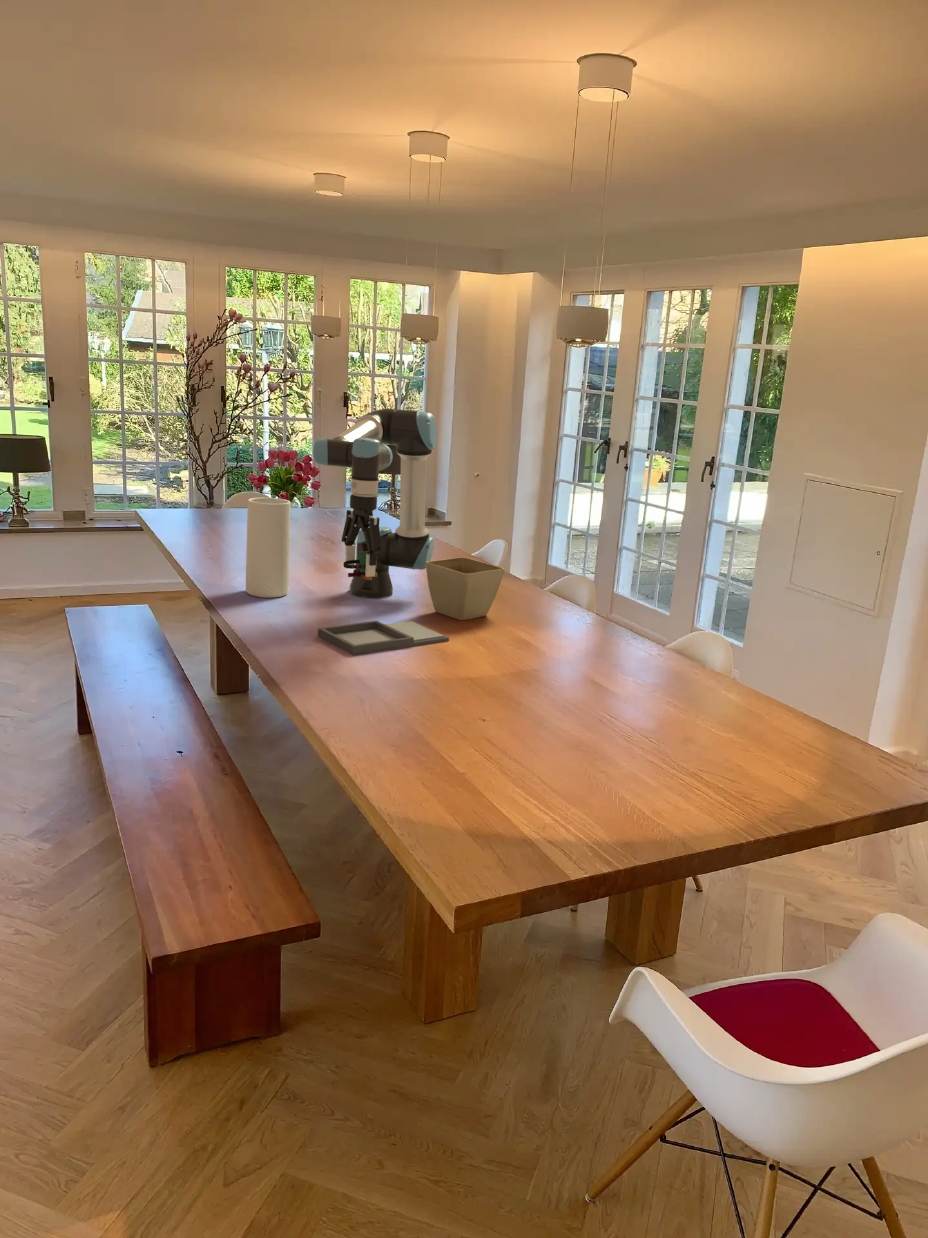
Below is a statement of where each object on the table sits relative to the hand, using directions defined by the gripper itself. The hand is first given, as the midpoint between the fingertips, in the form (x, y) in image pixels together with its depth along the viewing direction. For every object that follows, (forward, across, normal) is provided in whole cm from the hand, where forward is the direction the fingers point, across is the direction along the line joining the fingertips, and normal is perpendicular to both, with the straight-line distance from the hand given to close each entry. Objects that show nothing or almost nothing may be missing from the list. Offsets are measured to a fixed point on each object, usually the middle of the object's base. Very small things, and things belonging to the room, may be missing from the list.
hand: (359, 572), depth 259 cm
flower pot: (+20, -12, +48) cm, 53 cm away
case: (+20, +2, +8) cm, 22 cm away
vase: (+20, -58, 0) cm, 61 cm away
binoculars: (+2, 0, 0) cm, 2 cm away
